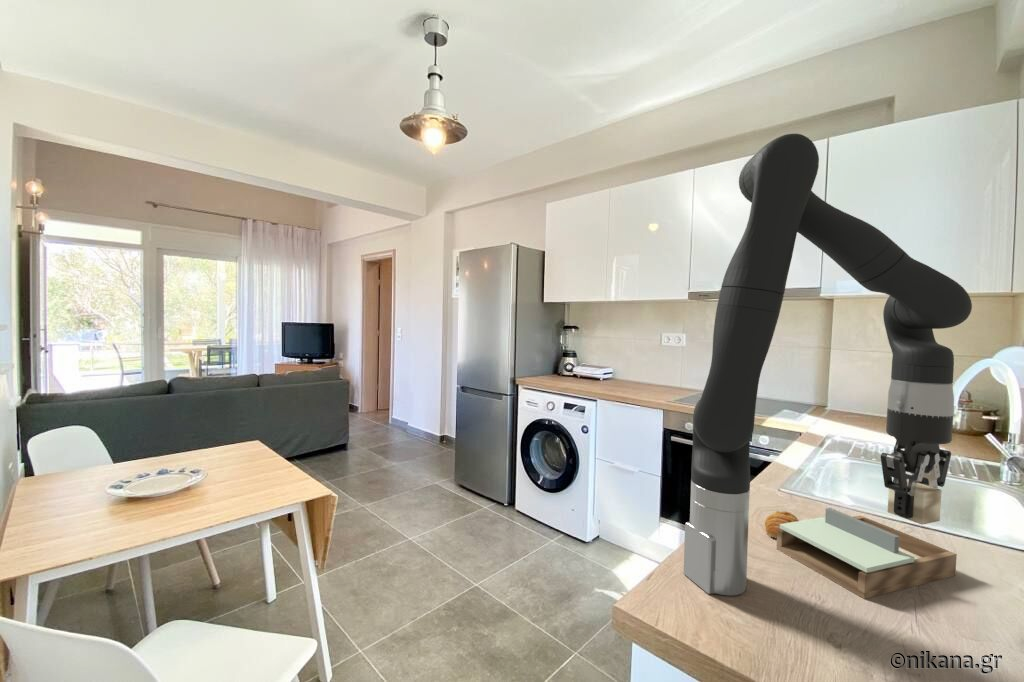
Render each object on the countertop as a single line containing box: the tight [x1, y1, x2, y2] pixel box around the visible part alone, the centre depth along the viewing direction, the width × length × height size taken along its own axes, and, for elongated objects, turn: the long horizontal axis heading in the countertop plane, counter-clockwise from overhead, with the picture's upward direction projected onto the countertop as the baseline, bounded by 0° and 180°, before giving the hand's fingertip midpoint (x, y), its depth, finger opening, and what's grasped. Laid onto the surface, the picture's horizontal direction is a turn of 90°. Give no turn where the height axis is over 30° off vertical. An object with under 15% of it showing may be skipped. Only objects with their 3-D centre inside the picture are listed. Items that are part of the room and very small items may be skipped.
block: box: [887, 479, 942, 526], centre depth 66 cm, size 4×4×5 cm
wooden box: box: [776, 515, 957, 600], centre depth 80 cm, size 24×16×4 cm, turn 107°
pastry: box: [764, 510, 800, 539], centre depth 90 cm, size 9×7×4 cm
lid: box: [780, 507, 915, 573], centre depth 78 cm, size 12×16×4 cm
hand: (913, 513), depth 66 cm, fingers closed on block, 4 cm apart
